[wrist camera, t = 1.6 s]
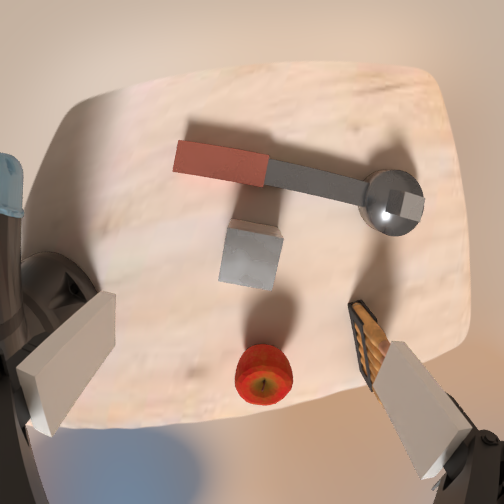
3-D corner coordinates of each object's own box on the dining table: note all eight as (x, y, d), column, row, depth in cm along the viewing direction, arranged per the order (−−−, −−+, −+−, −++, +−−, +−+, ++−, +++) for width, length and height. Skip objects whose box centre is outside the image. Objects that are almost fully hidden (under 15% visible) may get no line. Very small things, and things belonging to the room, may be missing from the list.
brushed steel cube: (223, 263, 34) (218, 281, 28) (231, 218, 33) (227, 227, 27) (268, 271, 34) (271, 290, 29) (277, 227, 33) (283, 238, 28)
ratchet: (175, 189, 32) (158, 192, 26) (187, 125, 31) (173, 114, 24) (403, 236, 34) (431, 249, 27) (416, 179, 32) (447, 181, 26)
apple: (278, 324, 36) (284, 359, 29) (293, 363, 37) (302, 401, 30) (228, 341, 37) (224, 377, 29) (247, 378, 38) (247, 417, 31)
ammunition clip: (347, 303, 36) (384, 356, 24) (361, 298, 36) (403, 349, 24) (359, 371, 38) (390, 431, 26) (372, 366, 38) (406, 424, 26)
